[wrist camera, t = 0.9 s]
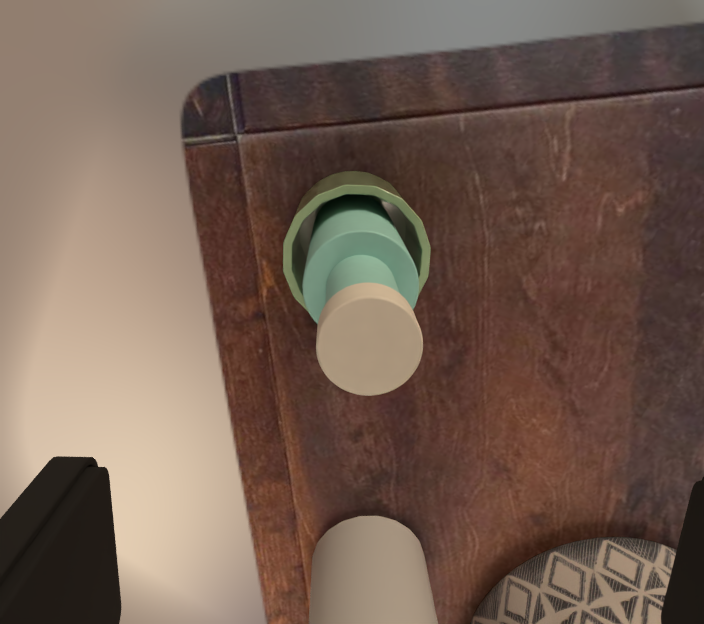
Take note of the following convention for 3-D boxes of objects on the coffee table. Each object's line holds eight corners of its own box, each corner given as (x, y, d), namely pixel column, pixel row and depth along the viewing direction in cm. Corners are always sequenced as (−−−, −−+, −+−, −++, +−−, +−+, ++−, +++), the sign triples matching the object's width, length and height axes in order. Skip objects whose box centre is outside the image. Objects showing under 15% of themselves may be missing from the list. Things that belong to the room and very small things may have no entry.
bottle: (313, 191, 32) (291, 268, 16) (395, 194, 32) (455, 274, 16) (311, 270, 33) (289, 416, 17) (390, 273, 33) (441, 420, 17)
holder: (294, 168, 32) (283, 181, 25) (415, 173, 32) (436, 188, 26) (292, 285, 34) (282, 326, 27) (406, 289, 34) (423, 331, 28)
